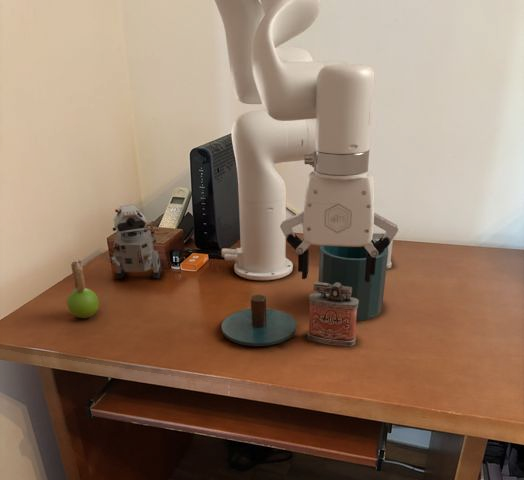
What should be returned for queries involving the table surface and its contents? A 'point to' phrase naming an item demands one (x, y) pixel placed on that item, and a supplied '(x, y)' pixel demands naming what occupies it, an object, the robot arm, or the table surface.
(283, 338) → the tin lid
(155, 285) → the table surface
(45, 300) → the table surface
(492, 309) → the table surface
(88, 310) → the green ball with peg
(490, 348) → the table surface
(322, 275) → the tin
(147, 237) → the figurine
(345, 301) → the lighter
